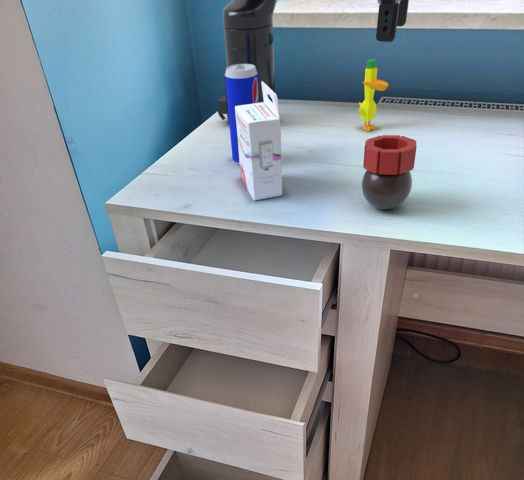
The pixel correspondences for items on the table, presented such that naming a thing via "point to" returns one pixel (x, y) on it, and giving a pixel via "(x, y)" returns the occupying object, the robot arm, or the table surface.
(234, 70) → the beverage can
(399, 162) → the ring
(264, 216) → the table surface
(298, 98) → the table surface
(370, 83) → the toy figure
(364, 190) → the ball
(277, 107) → the ink cartridge box
